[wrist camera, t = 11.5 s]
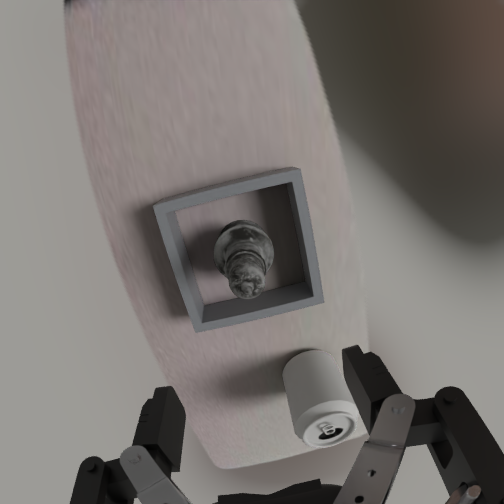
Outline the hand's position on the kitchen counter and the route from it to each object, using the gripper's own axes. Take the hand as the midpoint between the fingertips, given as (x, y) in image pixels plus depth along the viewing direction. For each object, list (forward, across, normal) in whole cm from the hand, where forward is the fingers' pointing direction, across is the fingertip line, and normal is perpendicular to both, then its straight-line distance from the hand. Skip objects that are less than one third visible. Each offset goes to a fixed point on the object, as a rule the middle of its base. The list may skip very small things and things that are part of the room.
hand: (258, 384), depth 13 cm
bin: (+22, 0, 0) cm, 22 cm away
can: (+22, -4, +19) cm, 29 cm away
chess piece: (+22, 0, 0) cm, 22 cm away
